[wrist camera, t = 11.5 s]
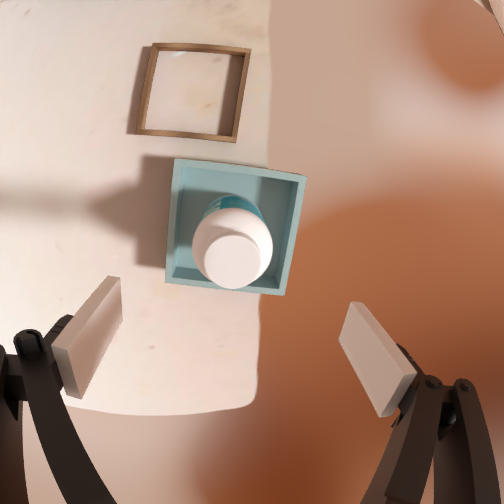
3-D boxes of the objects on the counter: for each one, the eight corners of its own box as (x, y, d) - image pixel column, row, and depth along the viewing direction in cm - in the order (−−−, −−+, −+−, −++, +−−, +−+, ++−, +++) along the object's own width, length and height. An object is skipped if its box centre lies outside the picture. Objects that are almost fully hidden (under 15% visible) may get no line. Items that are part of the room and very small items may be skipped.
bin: (171, 269, 38) (165, 282, 34) (181, 158, 34) (174, 158, 30) (278, 281, 40) (284, 295, 36) (298, 173, 36) (306, 176, 31)
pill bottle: (212, 185, 35) (200, 204, 22) (270, 204, 36) (292, 232, 23) (195, 243, 37) (177, 290, 24) (250, 259, 38) (261, 313, 25)
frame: (139, 134, 32) (135, 134, 31) (155, 46, 29) (152, 42, 27) (235, 143, 34) (236, 142, 32) (250, 53, 30) (251, 49, 29)
